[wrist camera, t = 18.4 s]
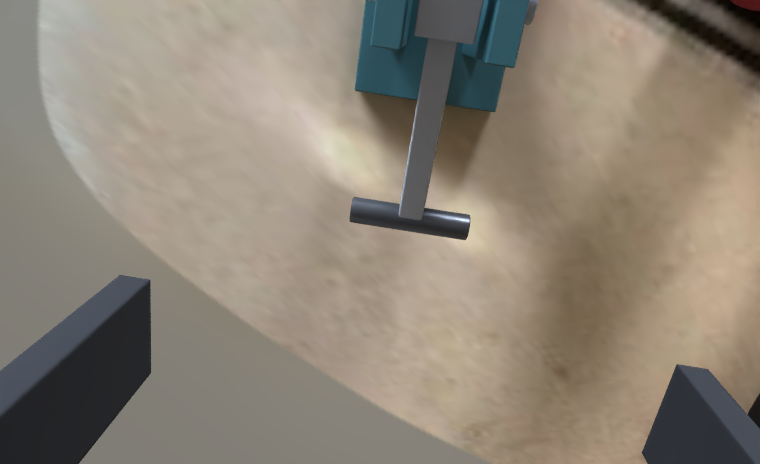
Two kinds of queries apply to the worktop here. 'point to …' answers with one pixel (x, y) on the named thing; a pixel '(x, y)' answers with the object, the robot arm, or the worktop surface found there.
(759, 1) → the paper cup
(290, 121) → the worktop surface
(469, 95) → the teal lever stand
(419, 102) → the lever
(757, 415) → the control panel
